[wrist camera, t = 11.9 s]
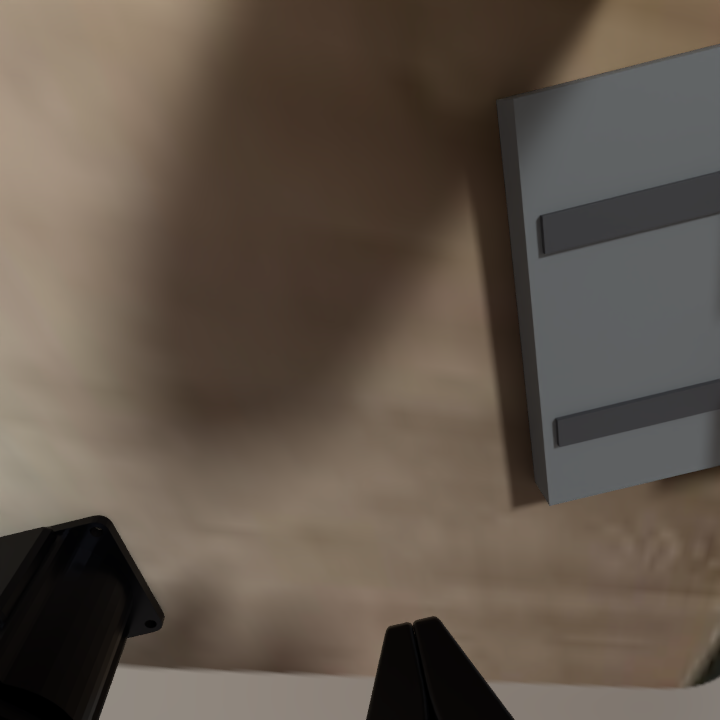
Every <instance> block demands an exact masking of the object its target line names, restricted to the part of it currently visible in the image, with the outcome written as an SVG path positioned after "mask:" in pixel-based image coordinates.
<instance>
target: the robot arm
mask: <svg viewBox="0 0 720 720" xmlns="http://www.w3.org/2000/svg"><path fill="white" fill-rule="evenodd" d="M95 527H98V528H101V529H102V530H98V529H96V528H95ZM164 618H165V616H164V613H163V611H162V609H161V608H160V606H159V604H158V602H157V601H156V599H155V597H154V595H153V594H152V592H151V590H150V588H149V587H148V585H147V583H146V581H145V579H144V578H143V576H142V574H141V572H140V571H139V569H138V567H137V565H136V564H135V562H134V560H133V558H132V557H131V555H130V553H129V551H128V549H127V548H126V546H125V544H124V542H123V541H122V539H121V537H120V535H119V534H118V532H117V530H116V528H115V527H114V525H113V523H112V522H111V520H110V519H108V518H107V517H105V516H100V515H97V516H91V517H87V518H83V519H79V520H75V521H71V522H66V523H62V524H58V525H54V526H50V527H41V528H37V529H32V530H28V531H24V532H20V533H16V534H12V535H8V536H3V537H0V720H99V717H100V714H101V712H102V709H103V706H104V703H105V700H106V697H107V694H108V691H109V689H110V685H111V683H112V680H113V677H114V674H115V671H116V669H117V666H118V663H119V660H120V657H121V654H122V651H123V649H124V646H125V643H126V640H127V638H130V637H134V636H138V635H143V634H147V633H151V632H155V631H158V630H159V629H161V628H162V625H163V621H164ZM413 629H414V630H413ZM414 633H415V634H414ZM366 720H514V718H513V717H512V716H511V714H510V713H509V712H508V711H507V709H506V708H505V706H504V705H503V704H502V702H501V701H500V700H499V698H498V697H497V696H496V694H495V693H494V692H493V690H492V689H491V688H490V686H489V685H488V684H487V682H486V681H485V680H484V678H483V677H482V676H481V674H480V673H479V671H478V670H477V669H476V667H475V666H474V665H473V663H472V662H471V661H470V659H469V658H468V657H467V655H466V654H465V653H464V651H463V650H462V649H461V647H460V646H459V645H458V643H457V642H456V641H455V639H454V638H453V637H452V635H451V634H450V633H449V631H448V630H447V629H446V627H445V626H444V625H443V623H442V622H441V621H440V620H439V619H438V618H437V617H435V616H432V617H428V618H423V619H419V620H416V621H415V622H414V623H413V626H412V624H411V623H409V622H406V623H402V624H397V625H393V626H389V627H388V628H387V630H386V633H385V637H384V641H383V646H382V650H381V655H380V659H379V664H378V668H377V673H376V678H375V682H374V687H373V691H372V696H371V701H370V705H369V709H368V714H367V719H366Z"/></svg>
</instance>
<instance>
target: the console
mask: <svg viewBox="0 0 720 720" xmlns="http://www.w3.org/2000/svg"><path fill="white" fill-rule="evenodd" d="M496 103H497V113H498V123H499V132H500V142H501V152H502V162H503V172H504V181H505V191H506V201H507V211H508V221H509V230H510V240H511V250H512V260H513V270H514V279H515V289H516V299H517V309H518V319H519V328H520V338H521V348H522V358H523V368H524V377H525V387H526V397H527V407H528V417H529V427H530V436H531V446H532V456H533V466H534V476H535V483H536V484H537V486H538V488H539V489H540V491H541V493H542V494H543V496H544V497H545V499H546V501H547V502H548V504H549V506H551V505H555V504H559V503H563V502H567V501H572V500H576V499H580V498H584V497H589V496H593V495H597V494H601V493H605V492H610V491H614V490H618V489H622V488H627V487H631V486H635V485H639V484H643V483H648V482H652V481H656V480H660V479H665V478H669V477H673V476H677V475H681V474H686V473H690V472H694V471H698V470H702V469H707V468H711V467H715V466H719V465H720V44H717V45H713V46H709V47H705V48H701V49H697V50H693V51H689V52H685V53H681V54H677V55H673V56H669V57H665V58H661V59H657V60H653V61H649V62H645V63H642V64H638V65H634V66H630V67H626V68H622V69H618V70H614V71H610V72H606V73H602V74H598V75H594V76H590V77H586V78H582V79H578V80H574V81H570V82H566V83H562V84H558V85H554V86H550V87H546V88H542V89H538V90H534V91H530V92H526V93H522V94H518V95H514V96H510V97H506V98H502V99H498V100H496Z"/></svg>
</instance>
